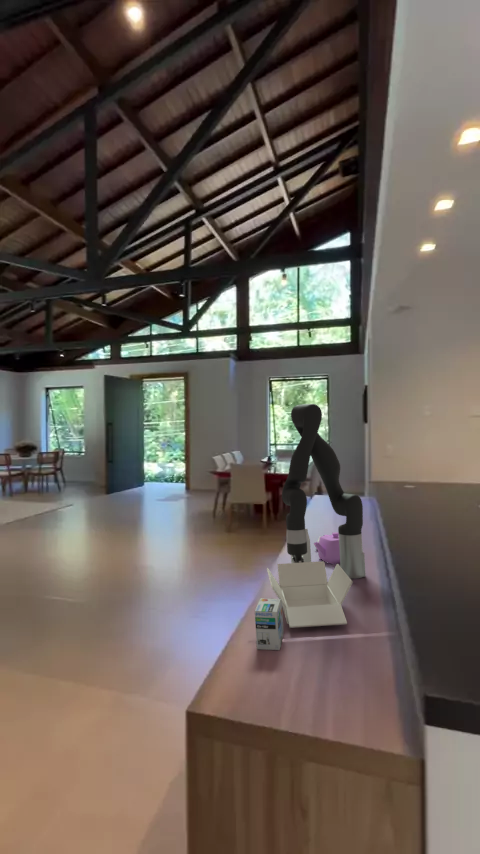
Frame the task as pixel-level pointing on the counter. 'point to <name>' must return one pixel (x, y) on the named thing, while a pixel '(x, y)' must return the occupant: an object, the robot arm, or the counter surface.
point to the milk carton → (308, 555)
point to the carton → (311, 593)
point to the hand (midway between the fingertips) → (299, 583)
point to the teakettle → (329, 548)
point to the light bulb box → (269, 624)
